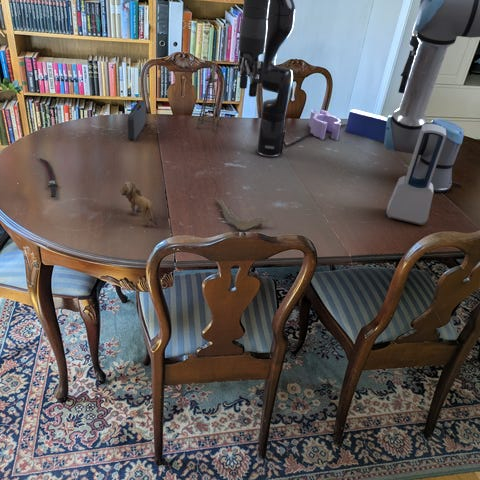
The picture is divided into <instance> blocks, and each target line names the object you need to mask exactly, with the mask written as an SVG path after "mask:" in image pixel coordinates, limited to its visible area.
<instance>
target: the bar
mask: <svg viewBox="0 0 480 480" xmlns="http://www.w3.org/2000/svg"><path fill="white" fill-rule="evenodd" d="M387 118H388V117H386V116H383V115H378V114H374V113H371V112H366V111H364V110H363V111H362V110H358V109H355V108H353V109H351V110H350V111H349V113H348V117H347V122H346V124H347V125H346V126H345V130H344V131H345V132H346V133H348V134H349V133H350V134H352V135H353V134H354V135H357V136H360V137H364V138H367V139H370V140H375V141H379V142H382V143H384V140H385V131H386V124H387Z"/></svg>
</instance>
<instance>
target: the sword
mask: <svg viewBox="0 0 480 480" xmlns="http://www.w3.org/2000/svg"><path fill="white" fill-rule="evenodd" d="M40 161H41V162H42V163H43V165H44V166H45V169H46V173H47V176H48V185H47V188H50V198H56V197H57V189H56V188H57V187H59V185H58V184H57V183H56V180H55V176H54V172H53V169H52V167H51V164H50V163H49V161H48V160H46V159H43V158H40Z"/></svg>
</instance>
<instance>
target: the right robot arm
mask: <svg viewBox="0 0 480 480" xmlns="http://www.w3.org/2000/svg"><path fill="white" fill-rule="evenodd" d="M411 34H412V35H411V36H410V40H409V43H408V45H409V46H410V47H413V48H412V50H411V49H410V50H409V54H408V57H407V59H406V62H405V65H404V67H403V69H402V71H401V74H400V77H401V81H400V84H399V87H398V90H397V91H398V94H403V96H402V99H401V101H400V105H399V108H397V109H396V110H394V112H393V114H392V115H388V116H387V117H386V118H387V124H386V131H385V140H384V142H383V146H384V148H385V149H387V150H389V151H394V152H399V153H404V154H405V153H406V154H411V155H413V153H414V150H415V147H416V143H417V140H418V137H419V134H420V131H421V127H422V125H423V124H436V125H439V126H442V127H443V128H445V129H446V139H445V142H444V144H443V147H442V150H441V153H440V156H439V159H438V162H437V165H436V168H435V170H434V173H433V176H432V179H431V183H432V184H433V193H436V194H437V193H438V194H439V193H441V194H442V193H443V194H444V193H447V192H449V191H450V190H451V188H452V185H455V186H458V187H461V186H462V183H460V182H456V181H454V180H453V179H452V178H453V167H454V164H455V162H456V160H457V159H456V158H457V156H458V154H459V151H460V148H461V146H462V144H463V140H464V137H465V131H464V129H463V128H462V126H460V125H458V124H456V123H454V122H452V121H449V120H446V119H442V118H433V119H432V120H431V122H428V118H427V115H425V113H426V110H427V107H428V104H429V102H430V100H431V96H432V93H433V90H434V88H435V86H436V82H437V79H438V76H439V73H440V70H441V68H442V64H443V62H444V59H445V56H446V53H447V50H448V48H449V47H450V46H453V45H455V43H456V40H457V38H458V37H462V38H470V39H471V38H480V0H419V6H418V9H417V14H416V18H415V22H414V24H413V28H412V31H411ZM438 137H439V136H437V135H434V134H426V135H425V138H424V141H423V144H422V147H421V151H420V154H419V156H420V157H419V160H418V161H417V163H416V166H415V169H414V172H413V175H412V177H415V178H418V179H425V176H426V173H427V170H428V167H429V164H430V161H431V158H432V155H433V152H434V149H435V146H436V143H437V140H438Z"/></svg>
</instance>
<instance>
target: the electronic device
mask: <svg viewBox="0 0 480 480" xmlns="http://www.w3.org/2000/svg"><path fill="white" fill-rule="evenodd" d="M426 134H434V135H437V136H439V137H438V140H437V143H436V146H435V149H434V152H433V155H432V158H431V161H430V164H429V167H428V170H427V173H426V176H425V179H418V178H415V177H412V175H413V172H414V169H415V166H416V165H417V163H418V161H419V160H418V159H419V158H420V157H419V156H420V155H419V154H420V151H421V147H422V144H423V141H424V138H425V135H426ZM445 139H446V129H445V128H443V127H442V126H439V125H436V124H423V125H422V127H421V131H420V134H419V137H418V140H417V143H416V147H415V150H414V153H413V154H412V156H411V160H410V163H409V165H408V170H407V171H406V172H407V173H406V175H403V176H400V177H399V178H398V180H397V182H396V184H395V187H394V190H393V192H392V194H391V196H390V198H389V201H388V204H387V205H386V206H387V207H386V215H387V217H388V218H389V219H393V220H398V221H400V222H401V221H402V222H406V223H410V224H414V225H419V226H423V225H424V224H425V225H426V224H427V222H428V219H429V215H430V212H431V211H430V210H431V206H432V201H433V197H434V192H433V184H432V183H431V179H432V176H433V173H434V170H435V168H436V165H437V162H438V159H439V156H440V153H441V150H442V147H443V144H444V142H445Z"/></svg>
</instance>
